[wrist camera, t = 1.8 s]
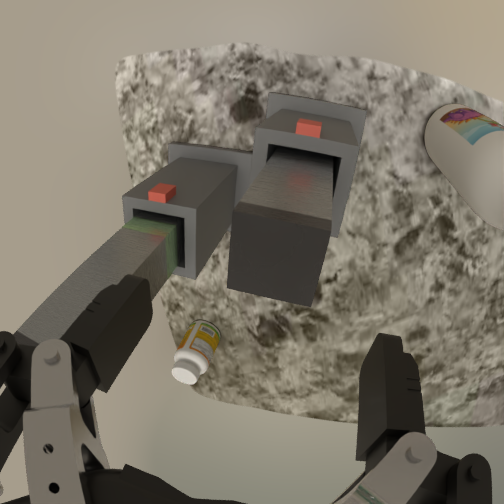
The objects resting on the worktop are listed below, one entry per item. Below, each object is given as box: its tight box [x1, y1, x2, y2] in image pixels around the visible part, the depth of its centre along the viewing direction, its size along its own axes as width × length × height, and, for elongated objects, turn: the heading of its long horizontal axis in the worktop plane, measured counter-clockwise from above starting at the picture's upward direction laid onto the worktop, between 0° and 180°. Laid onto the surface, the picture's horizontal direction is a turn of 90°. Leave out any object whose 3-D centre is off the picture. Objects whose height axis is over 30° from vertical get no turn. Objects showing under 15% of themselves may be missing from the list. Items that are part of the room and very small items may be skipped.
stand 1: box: [122, 142, 253, 280], centre depth 33 cm, size 10×10×13 cm
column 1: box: [13, 210, 185, 347], centre depth 23 cm, size 4×4×22 cm
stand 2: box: [249, 92, 367, 238], centre depth 27 cm, size 10×10×13 cm
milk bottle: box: [424, 104, 504, 230], centre depth 20 cm, size 8×8×20 cm
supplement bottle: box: [172, 320, 220, 384], centre depth 48 cm, size 5×5×10 cm
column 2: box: [227, 145, 333, 307], centre depth 23 cm, size 4×4×22 cm
